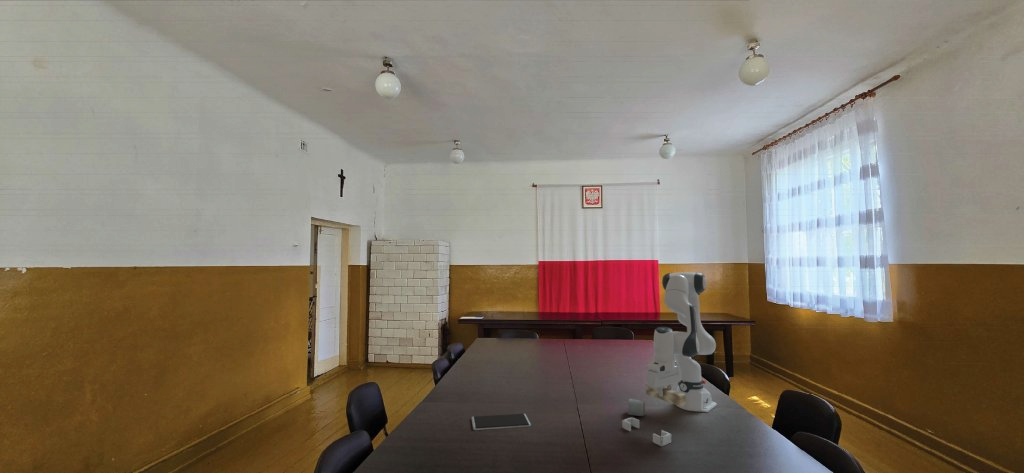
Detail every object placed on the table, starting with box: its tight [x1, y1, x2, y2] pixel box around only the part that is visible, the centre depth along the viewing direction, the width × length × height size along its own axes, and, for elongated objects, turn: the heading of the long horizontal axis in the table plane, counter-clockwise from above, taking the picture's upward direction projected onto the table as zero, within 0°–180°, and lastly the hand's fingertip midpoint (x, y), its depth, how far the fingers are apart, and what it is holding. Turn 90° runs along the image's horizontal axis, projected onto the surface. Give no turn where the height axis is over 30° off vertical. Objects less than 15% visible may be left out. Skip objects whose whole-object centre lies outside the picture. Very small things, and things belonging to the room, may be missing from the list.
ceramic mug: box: [627, 398, 646, 417], centre depth 194 cm, size 11×8×8 cm
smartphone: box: [471, 413, 532, 431], centre depth 183 cm, size 13×27×2 cm, turn 100°
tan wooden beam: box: [645, 383, 686, 407], centre depth 173 cm, size 18×4×4 cm, turn 32°
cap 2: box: [652, 429, 672, 447], centre depth 164 cm, size 4×7×4 cm
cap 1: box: [621, 416, 640, 432], centre depth 178 cm, size 4×7×4 cm
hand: (664, 395), depth 173 cm, fingers closed on tan wooden beam, 3 cm apart
